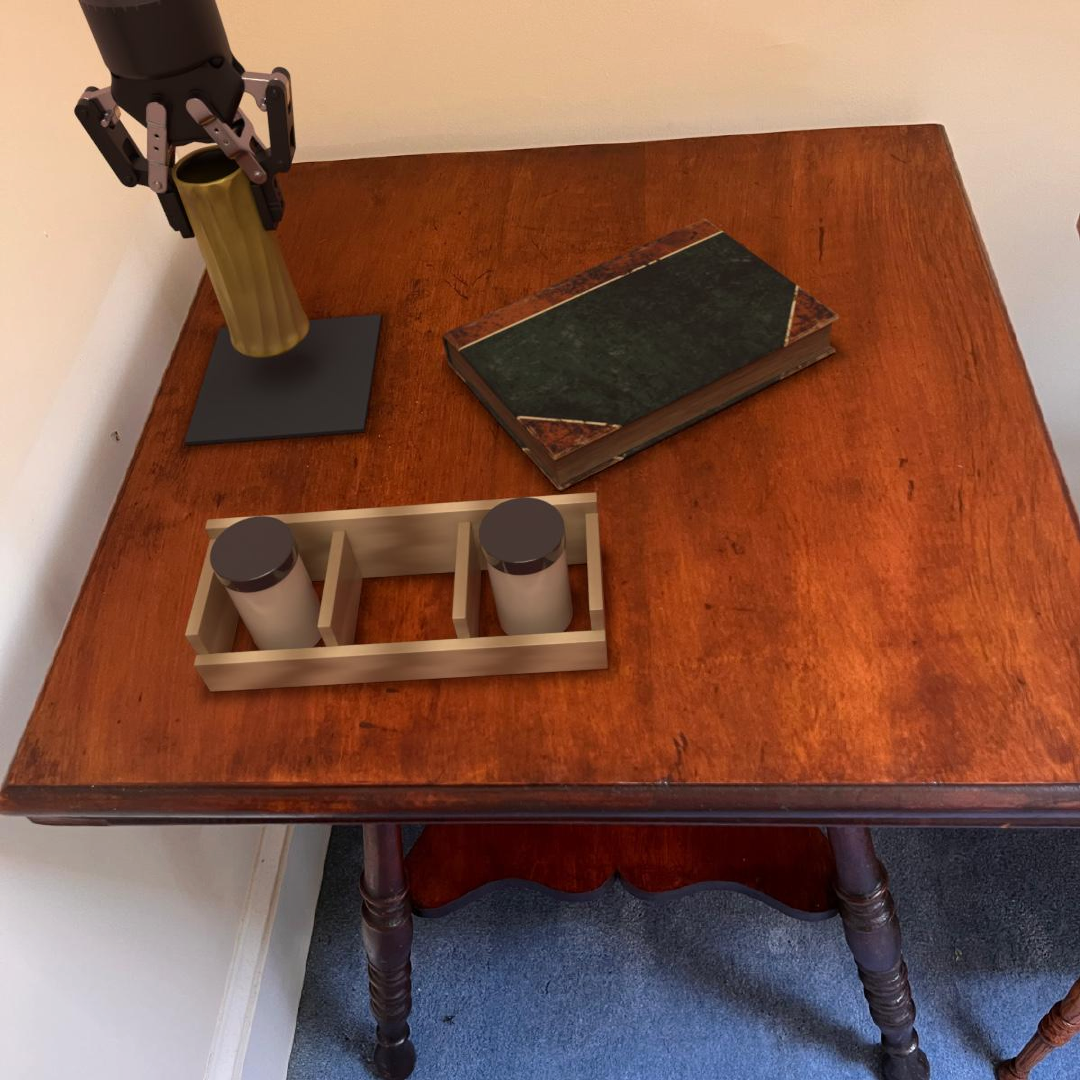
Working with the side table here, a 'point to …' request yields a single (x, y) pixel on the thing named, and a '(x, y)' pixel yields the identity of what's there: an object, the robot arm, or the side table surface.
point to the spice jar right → (527, 566)
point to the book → (637, 349)
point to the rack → (394, 550)
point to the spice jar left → (268, 583)
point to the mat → (289, 386)
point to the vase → (240, 255)
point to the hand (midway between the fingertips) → (231, 227)
